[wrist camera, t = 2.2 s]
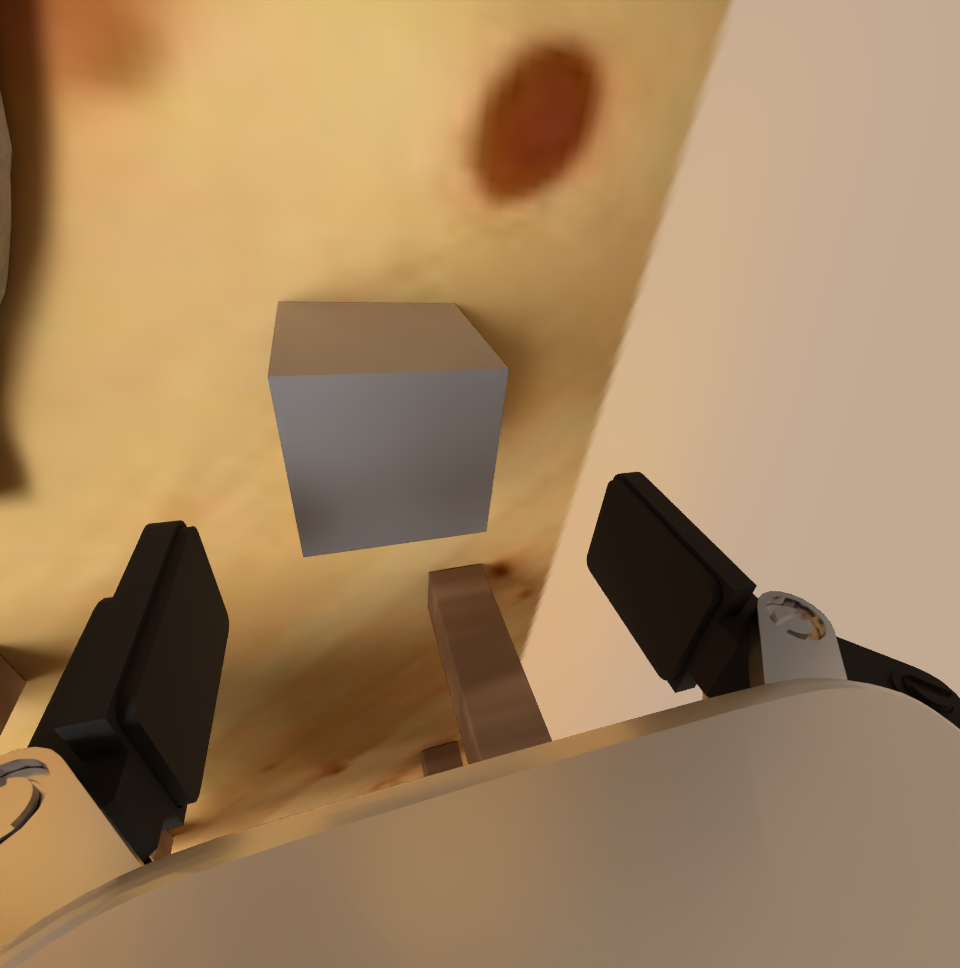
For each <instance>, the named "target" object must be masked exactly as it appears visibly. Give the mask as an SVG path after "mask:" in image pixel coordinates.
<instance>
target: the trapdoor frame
mask: <svg viewBox="0 0 960 968" xmlns="http://www.w3.org/2000/svg"><path fill="white" fill-rule="evenodd" d="M428 610H429V614H430V617H431V621H432V625H433V629H434V633H435V637H436V641H437V644H438V648H439V652H440V656H441V660H442V664H443V668H444V671H445V675H446V679H447V683H448V687H449V691H450V695H451V698H452V702H453V706H454V710H455V714H456V718H457V722H458V725H459V729H460V733H461V737H462V741H463V745H464V748H465V752H466V756H467V760H468V764H473V763H476V762H480V761H483V760H487V759H490V758H494V757H498V756H501V755H505V754H508V753H512V752H515V751H519V750H523V749H526V748H530V747H533V746H537V745H541V744H544V743H548V742H551V741H552V740H551V737H550V735H549V732H548V730H547V727H546V725H545V722H544V720H543V717H542V715H541V712H540V710H539V708H538V705H537V702H536V700H535V697H534V695H533V692H532V690H531V688H530V685H529V683H528V680H527V678H526V675H525V673H524V670H523V668H522V665H521V663H520V660H519V658H518V655H517V653H516V650H515V648H514V645H513V643H512V640H511V638H510V635H509V633H508V630H507V628H506V626H505V623H504V621H503V618H502V616H501V613H500V611H499V608H498V606H497V603H496V601H495V598H494V596H493V593H492V591H491V588H490V586H489V583H488V581H487V578H486V576H485V573H484V571H483V569H482V566H481V564H478V565H472V566H466V567H460V568H454V569H448V570H442V571H436V572H430V573H429V588H428ZM25 684H26V682H25V681H24V680H23V679H22V678H21V677H20V676H19V675H18V673H17V672H16V671H15V670H14V669H13V668H12V667H11V666H10V665H9V664H8V663H7V662H6V661H5V660H4V659H3V658H2V657H1V656H0V735H1V733H2V731H3V729H4V727H5V725H6V723H7V721H8V719H9V717H10V715H11V713H12V711H13V709H14V706H15V704H16V702H17V700H18V698H19V696H20V694H21V692H22V690H23V688H24V686H25ZM462 766H463V763H462V759H461V755H460V751H459V747H458V743H457V741H456V742H452V743H449V744H445V745H442V746H438V747H434V748H431V749H427V750H424V751H423V756H422V768H423V773H424V777H427V776H430V775H434V774H437V773H441V772H444V771H448V770H451V769H455V768H458V767H462ZM172 843H173V836H172V835H171V834H170V833H169V832H168V831H167V830H163V831H161V835H160V840H159V844H158V848H157V849H156V850H155V851H154V852H153V853H152V854H151V855H150V856H151V857H152V858H153V860H154V861H155V860H158V859H160V858H162V857H165V856H168V855H171V849H172Z"/></svg>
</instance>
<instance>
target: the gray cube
mask: <svg viewBox="0 0 960 968" xmlns="http://www.w3.org/2000/svg"><path fill="white" fill-rule="evenodd" d="M508 371H509V368H508V367H507V366H506V365H505V364H504V362H503V361H502V360H501V359H500V358H499V356H498V355H497V354H496V353H495V352H494V350H493V349H492V348H491V347H490V346H489V344H488V343H487V342H486V341H485V340H484V338H483V337H482V336H481V335H480V333H479V332H478V331H477V330H476V329H475V327H474V326H473V325H472V324H471V323H470V321H469V320H468V319H467V318H466V317H465V315H464V314H463V313H462V312H461V311H460V309H459V308H458V307H457V306H456V305H455V303H369V302H278V307H277V314H276V321H275V328H274V335H273V343H272V350H271V357H270V364H269V371H268V380H269V385H270V390H271V396H272V401H273V406H274V411H275V416H276V421H277V426H278V431H279V436H280V441H281V446H282V451H283V457H284V462H285V467H286V472H287V477H288V482H289V487H290V492H291V497H292V502H293V507H294V512H295V518H296V523H297V528H298V533H299V538H300V543H301V548H302V553H303V557H309V556H316V555H323V554H331V553H338V552H345V551H352V550H359V549H366V548H373V547H380V546H387V545H395V544H402V543H409V542H416V541H423V540H430V539H437V538H444V537H451V536H459V535H466V534H473V533H480V532H486V529H487V522H488V515H489V508H490V500H491V493H492V486H493V479H494V472H495V464H496V457H497V450H498V443H499V436H500V428H501V421H502V414H503V407H504V400H505V392H506V385H507V378H508Z"/></svg>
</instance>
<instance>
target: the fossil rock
mask: <svg viewBox="0 0 960 968" xmlns="http://www.w3.org/2000/svg"><path fill="white" fill-rule="evenodd" d="M11 160H12V145H11V140H10V136H9V131H8V126H7V121H6V116H5V111H4V106H3V101H2V96H1V92H0V305H1V302H2V299H3V297H4V294H5V292H6V285H7V278H8V268H9V254H10V236H11V181H10V172H11Z"/></svg>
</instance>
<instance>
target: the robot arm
mask: <svg viewBox="0 0 960 968" xmlns="http://www.w3.org/2000/svg"><path fill="white" fill-rule="evenodd" d="M587 565H588V568H589V570H590V572H591V574H592V575H593V576H594V578H595V579H596V581H597V583H598V584H599V586H600V587H601V589H602V590H603V592H604V593H605V595H606V596H607V598H608V599H609V601H610V602H611V604H612V605H613V607H614V608H615V610H616V611H617V613H618V614H619V616H620V618H621V619H622V621H623V622H624V624H625V625H626V627H627V628H628V630H629V631H630V633H631V634H632V636H633V637H634V639H635V640H636V642H637V643H638V645H639V646H640V648H641V649H642V651H643V652H644V654H645V656H646V657H647V659H648V660H649V662H650V663H651V665H652V666H653V668H654V669H655V671H656V672H657V674H658V675H659V676H660V677H661V678H662V679H663V680H667V681H668V683H669V684H670V686H671V687H672V689H673V690H674V691H675V693H676V692H680V691H684V690H687V689H691V688H695V686H696V684H698V686H699V687H700V689H701V690H702V691H703V700H701V701H697V702H693V703H689V704H686V705H682V706H678V707H675V708H671V709H668V710H664V711H660V712H656V713H653V714H649V715H645V716H642V717H639V718H635V719H631V720H627V721H624V722H620V723H616V724H613V725H609V726H606V727H602V728H598V729H595V730H591V731H587V732H584V733H580V734H576V735H573V736H569V737H566V738H562V739H558V740H555V741H551V742H548V743H544V744H541V745H537V746H533V747H530V748H526V749H523V750H519V751H515V752H512V753H508V754H505V755H501V756H498V757H494V758H490V759H487V760H483V761H480V762H476V763H473V764H469V765H465V766H462V767H458V768H455V769H451V770H448V771H444V772H441V773H437V774H434V775H430V776H427V777H423V778H420V779H416V780H413V781H409V782H406V783H402V784H399V785H395V786H392V787H388V788H385V789H381V790H377V791H374V792H370V793H367V794H363V795H360V796H356V797H353V798H349V799H346V800H342V801H339V802H335V803H332V804H328V805H325V806H321V807H318V808H315V809H311V810H308V811H305V812H302V813H298V814H295V815H292V816H288V817H285V818H282V819H278V820H275V821H272V822H268V823H265V824H262V825H258V826H255V827H252V828H249V829H245V830H242V831H239V832H235V833H232V834H229V835H225V836H222V837H219V838H216V839H214V840H211V841H208V842H205V843H202V844H199V845H196V846H193V847H191V848H188V849H185V850H182V851H179V852H176V853H173V854H171V855H168V856H165V857H162V858H160V859H158V860H155V861H154V860H153V858H152V857H151V856H150V855H151V854H152V853H153V852H154V851H155V850H156V849H157V848H158V844H159V840H160V835H161V831H163V830H166V829H170V828H174V827H178V826H181V825H183V824H184V819H185V814H186V809H187V804H190V803H194V802H196V801H197V799H198V797H199V793H200V789H201V784H202V778H203V772H204V767H205V761H206V756H207V750H208V745H209V739H210V733H211V728H212V722H213V717H214V711H215V705H216V700H217V694H218V689H219V683H220V677H221V672H222V666H223V661H224V655H225V649H226V644H227V638H228V632H229V619H228V614H227V611H226V608H225V605H224V603H223V600H222V597H221V594H220V591H219V589H218V586H217V583H216V580H215V578H214V575H213V572H212V569H211V566H210V564H209V561H208V558H207V555H206V552H205V550H204V547H203V544H202V541H201V538H200V536H199V533H198V531H197V529H196V527H194V526H192V527H187V526H186V524H185V523H184V522H183V521H181V520H180V521H170V522H161V523H152V524H148V525H146V526H145V528H144V530H143V532H142V534H141V536H140V539H139V541H138V543H137V545H136V548H135V550H134V552H133V554H132V556H131V559H130V561H129V563H128V565H127V567H126V570H125V572H124V574H123V576H122V578H121V581H120V583H119V585H118V587H117V590H116V592H115V594H114V596H113V597H110V598H104V599H103V600H101V601H100V602H99V603H98V604H97V606H96V607H95V609H94V610H93V613H92V615H91V617H90V619H89V621H88V623H87V625H86V627H85V629H84V631H83V633H82V635H81V637H80V639H79V642H78V644H77V646H76V648H75V650H74V652H73V654H72V656H71V658H70V660H69V662H68V664H67V666H66V669H65V671H64V673H63V675H62V677H61V679H60V681H59V683H58V685H57V687H56V689H55V691H54V693H53V696H52V698H51V700H50V702H49V704H48V706H47V708H46V710H45V712H44V714H43V716H42V718H41V720H40V723H39V725H38V727H37V729H36V731H35V733H34V735H33V737H32V739H31V741H30V743H29V745H28V747H27V748H23V749H17V750H14V751H11V752H8V753H6V754H3V755H0V968H960V698H959V697H958V696H957V694H956V693H955V692H953V691H952V690H951V689H950V688H949V687H948V686H947V685H945V684H944V683H943V682H942V681H940V680H939V679H937V678H935V677H933V676H932V675H930V674H928V673H926V672H924V671H922V670H920V669H918V668H916V667H913V666H910V665H908V664H906V663H903V662H900V661H898V660H895V659H892V658H890V657H888V656H885V655H882V654H880V653H877V652H875V651H872V650H870V649H867V648H864V647H862V646H859V645H856V644H854V643H852V642H849V641H846V640H844V639H841V638H839V637H836V635H835V631H834V629H833V627H832V624H831V623H830V621H829V620H828V619H827V617H826V616H825V615H824V614H823V613H822V612H821V611H820V610H818V609H817V608H816V607H815V606H814V605H812V604H810V603H809V602H807V601H805V600H804V599H801V598H799V597H797V596H794V595H792V594H788V593H784V592H780V591H770V592H766V593H763V594H762V595H761V596H760V597H759V598H757V597H756V596H755V595H754V594H753V591H754V589H755V587H756V584H755V583H754V582H753V581H751V580H750V579H749V578H748V577H747V576H746V575H745V574H744V573H743V572H742V571H741V570H740V569H739V568H738V567H737V566H736V565H735V564H734V563H733V562H732V561H731V560H730V559H729V558H728V557H727V556H726V555H725V554H724V553H723V552H722V551H721V550H720V549H719V548H718V547H717V546H716V545H715V544H714V543H712V541H710V539H709V538H707V536H706V535H704V534H703V533H702V532H701V531H700V530H699V529H698V528H697V527H696V526H695V525H694V524H693V523H692V522H691V521H690V520H689V519H688V518H687V517H686V516H685V515H684V514H683V513H682V512H681V511H680V510H679V509H678V508H677V507H676V506H675V505H674V504H673V503H672V502H671V501H670V500H669V499H668V498H667V497H666V496H665V495H664V494H663V493H662V492H661V491H660V490H659V489H657V487H655V486H654V485H653V484H652V483H651V482H650V481H649V480H648V479H647V478H646V477H645V476H644V475H643V474H642V473H640V472H631V473H622V474H617V475H616V476H615V477H614V479H613V480H612V481H610V482H609V483H608V486H607V489H606V493H605V496H604V500H603V503H602V507H601V510H600V513H599V517H598V520H597V524H596V527H595V531H594V534H593V537H592V541H591V544H590V548H589V551H588V555H587Z"/></svg>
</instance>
